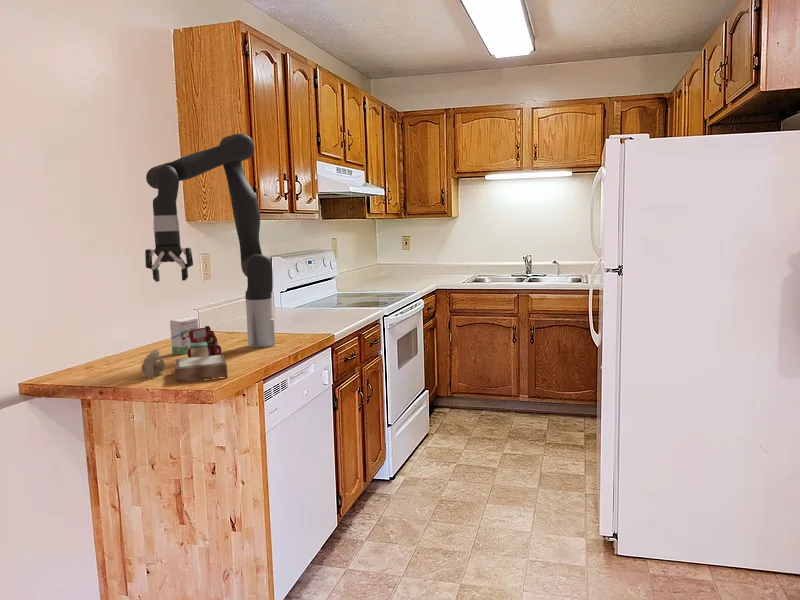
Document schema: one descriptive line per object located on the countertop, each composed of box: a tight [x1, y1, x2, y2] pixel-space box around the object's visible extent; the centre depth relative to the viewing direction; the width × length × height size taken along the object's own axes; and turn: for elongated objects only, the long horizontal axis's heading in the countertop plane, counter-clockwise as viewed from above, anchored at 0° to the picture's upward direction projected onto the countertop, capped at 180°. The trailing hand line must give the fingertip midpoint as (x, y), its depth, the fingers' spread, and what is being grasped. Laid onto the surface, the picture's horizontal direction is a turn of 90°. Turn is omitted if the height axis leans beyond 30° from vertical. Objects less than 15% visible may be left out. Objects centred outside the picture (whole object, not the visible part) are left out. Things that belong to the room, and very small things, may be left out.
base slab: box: [174, 354, 228, 384], centre depth 183 cm, size 14×14×4 cm
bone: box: [140, 348, 166, 380], centre depth 183 cm, size 9×6×10 cm
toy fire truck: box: [186, 325, 222, 358], centre depth 207 cm, size 7×12×10 cm, turn 158°
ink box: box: [169, 316, 199, 355], centre depth 217 cm, size 8×5×12 cm, turn 151°
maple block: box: [190, 342, 208, 358], centre depth 195 cm, size 5×5×7 cm
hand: (170, 280), depth 198 cm, fingers open, 8 cm apart
